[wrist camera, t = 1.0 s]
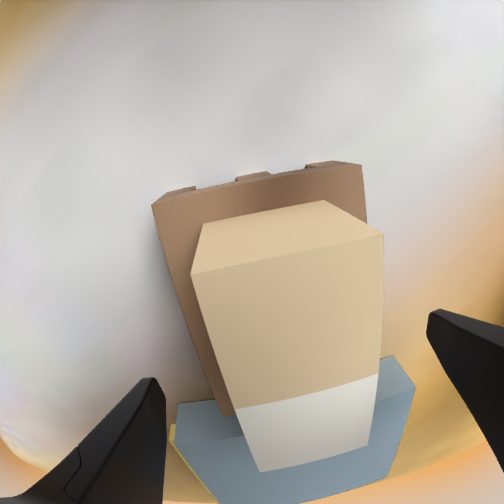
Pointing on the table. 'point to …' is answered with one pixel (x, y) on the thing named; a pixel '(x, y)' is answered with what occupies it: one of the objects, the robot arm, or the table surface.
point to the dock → (296, 477)
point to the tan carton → (291, 300)
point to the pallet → (233, 205)
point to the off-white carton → (310, 425)
